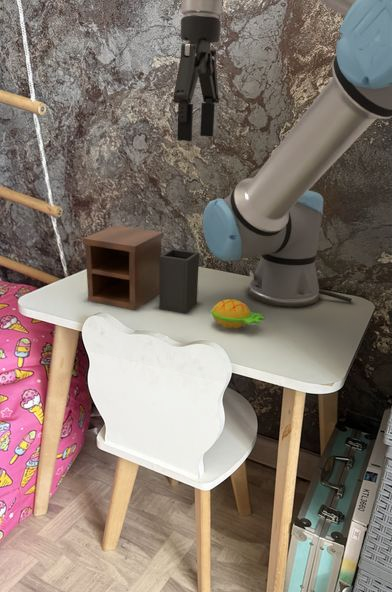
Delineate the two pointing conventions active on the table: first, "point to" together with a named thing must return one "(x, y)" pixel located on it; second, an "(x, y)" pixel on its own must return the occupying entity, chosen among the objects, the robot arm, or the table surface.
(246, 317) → the orange toy pineapple
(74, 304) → the table surface
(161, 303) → the black upright box
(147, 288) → the shelf
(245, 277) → the table surface
